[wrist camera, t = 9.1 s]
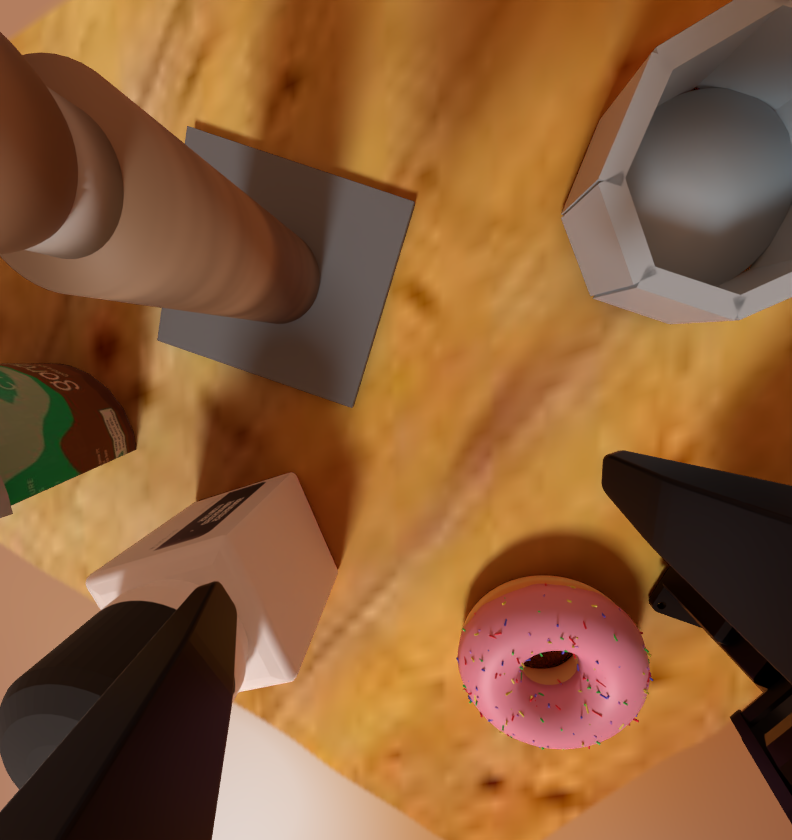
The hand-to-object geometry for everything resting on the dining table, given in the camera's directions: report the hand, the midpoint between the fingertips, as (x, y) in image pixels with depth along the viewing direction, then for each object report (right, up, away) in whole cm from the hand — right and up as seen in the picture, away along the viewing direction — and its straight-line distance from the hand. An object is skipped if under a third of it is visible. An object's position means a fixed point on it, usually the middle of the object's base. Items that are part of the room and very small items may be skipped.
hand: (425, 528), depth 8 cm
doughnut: (+9, -12, +15) cm, 21 cm away
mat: (-7, +10, +11) cm, 17 cm away
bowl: (+13, +13, +9) cm, 20 cm away
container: (-9, -5, +15) cm, 19 cm away
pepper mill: (-7, +10, +11) cm, 16 cm away
